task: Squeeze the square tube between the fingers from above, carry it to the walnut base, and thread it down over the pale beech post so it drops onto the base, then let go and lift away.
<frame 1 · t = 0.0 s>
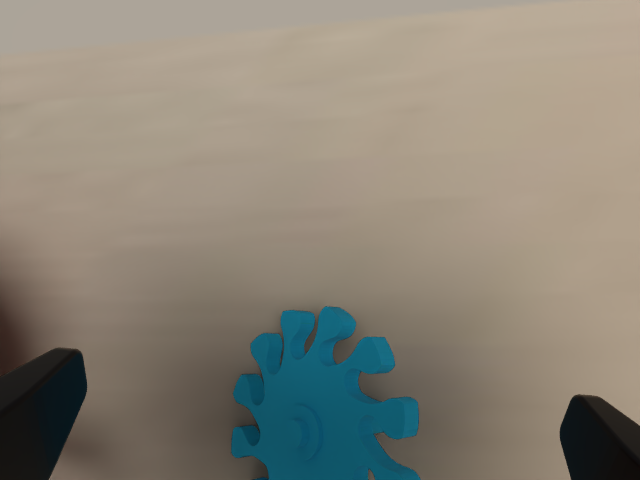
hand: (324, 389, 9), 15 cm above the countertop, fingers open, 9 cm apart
gear: (312, 421, 24), on the countertop
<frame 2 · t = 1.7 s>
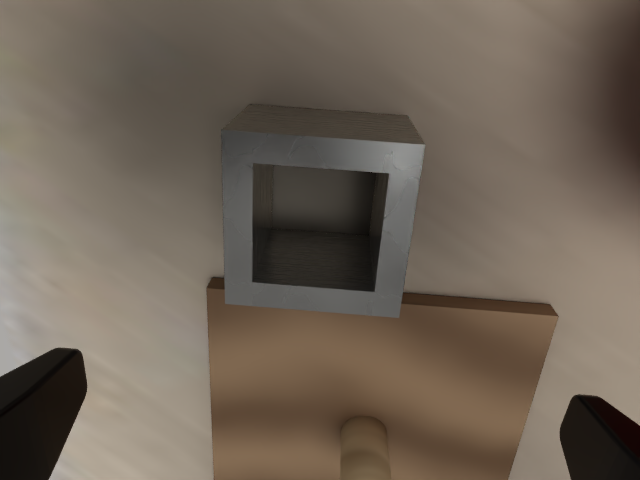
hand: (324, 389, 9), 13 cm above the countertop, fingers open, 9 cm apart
square tube: (323, 185, 21), on the countertop
post base: (363, 419, 27), on the countertop
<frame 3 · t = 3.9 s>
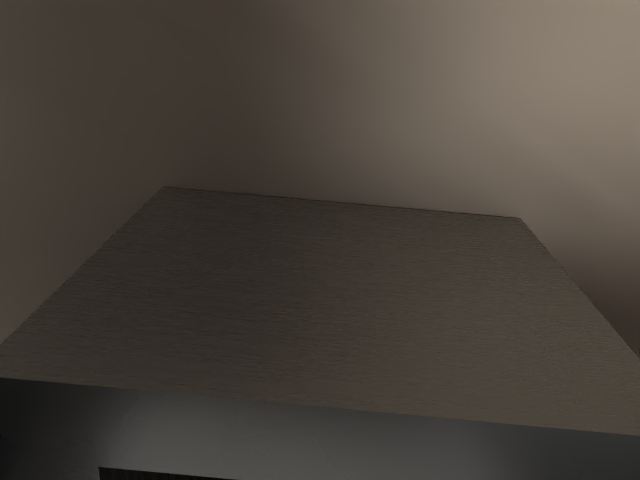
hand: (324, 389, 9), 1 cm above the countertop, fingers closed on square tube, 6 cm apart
square tube: (326, 348, 10), on the countertop, touching gripper
when the fingers open (4 cm above the countertop, at t = 10.2 s): square tube drops 1 cm, resting on post base.
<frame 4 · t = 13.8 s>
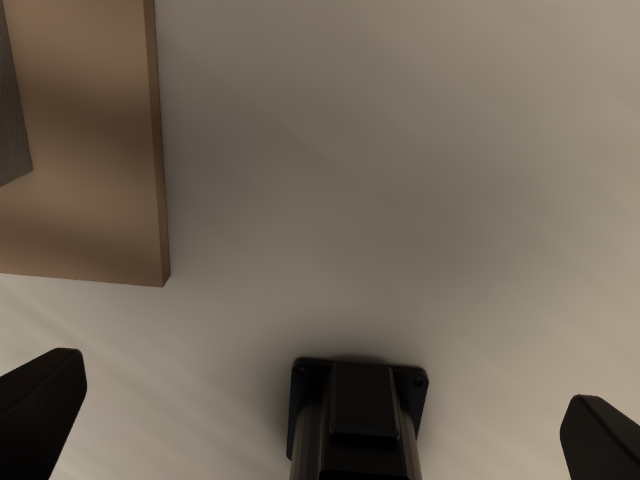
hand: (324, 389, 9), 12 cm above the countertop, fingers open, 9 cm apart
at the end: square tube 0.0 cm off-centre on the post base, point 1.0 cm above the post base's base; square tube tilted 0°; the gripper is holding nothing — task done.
